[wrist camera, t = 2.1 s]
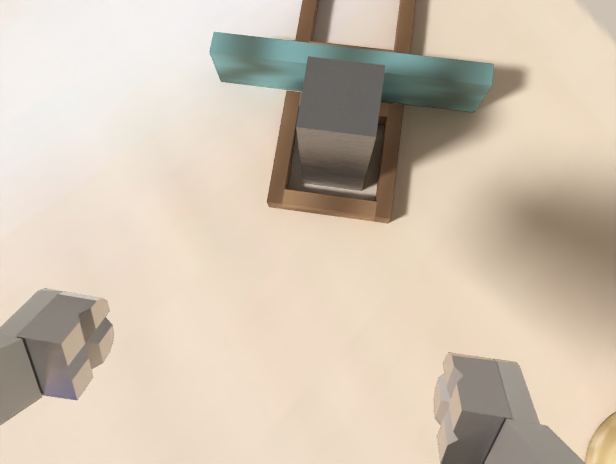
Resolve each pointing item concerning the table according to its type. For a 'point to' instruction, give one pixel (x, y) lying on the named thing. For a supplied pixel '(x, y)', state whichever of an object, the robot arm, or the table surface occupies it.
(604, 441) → the hand bell
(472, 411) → the robot arm
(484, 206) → the table surface
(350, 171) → the gray block
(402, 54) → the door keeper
